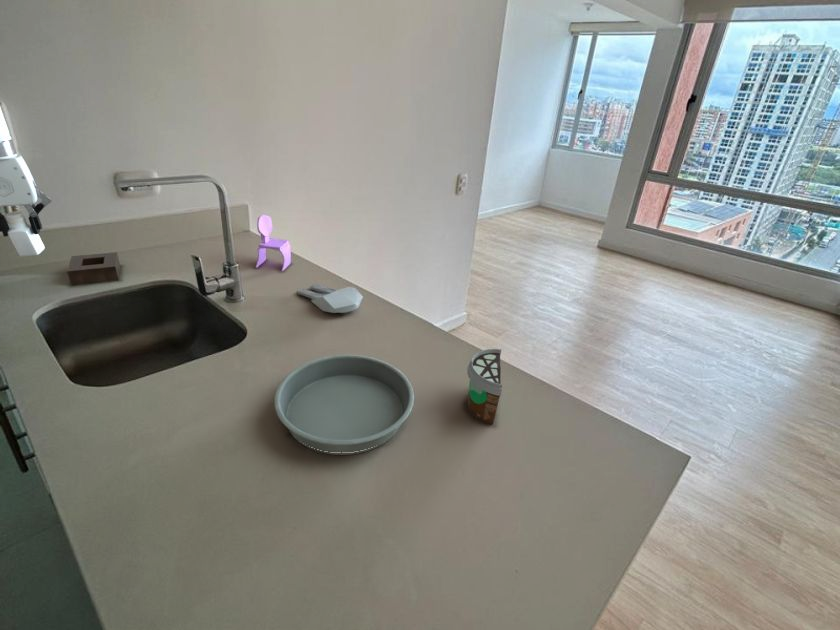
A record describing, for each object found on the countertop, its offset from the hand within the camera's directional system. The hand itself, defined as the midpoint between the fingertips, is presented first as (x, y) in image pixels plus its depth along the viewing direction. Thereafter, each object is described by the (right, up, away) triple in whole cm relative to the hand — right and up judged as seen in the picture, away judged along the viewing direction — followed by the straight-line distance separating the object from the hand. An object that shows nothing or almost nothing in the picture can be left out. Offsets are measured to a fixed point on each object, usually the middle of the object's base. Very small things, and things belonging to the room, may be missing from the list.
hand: (22, 232), depth 101 cm
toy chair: (+46, -4, +34) cm, 57 cm away
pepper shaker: (0, -4, +3) cm, 5 cm away
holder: (+3, -8, +19) cm, 21 cm away
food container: (+101, -37, -14) cm, 109 cm away
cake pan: (+77, -37, -19) cm, 87 cm away
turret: (+66, -16, +16) cm, 70 cm away
